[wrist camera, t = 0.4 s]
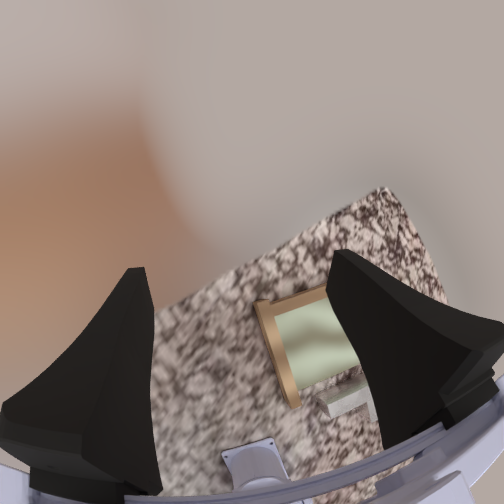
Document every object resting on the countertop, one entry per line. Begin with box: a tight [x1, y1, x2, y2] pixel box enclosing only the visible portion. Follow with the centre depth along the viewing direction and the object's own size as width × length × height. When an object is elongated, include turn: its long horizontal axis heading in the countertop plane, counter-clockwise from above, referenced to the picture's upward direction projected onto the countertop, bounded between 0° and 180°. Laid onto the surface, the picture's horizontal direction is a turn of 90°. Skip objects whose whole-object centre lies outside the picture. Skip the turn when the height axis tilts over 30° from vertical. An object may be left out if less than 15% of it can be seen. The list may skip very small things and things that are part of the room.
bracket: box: [315, 373, 378, 423], centre depth 36 cm, size 8×6×5 cm
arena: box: [253, 283, 360, 409], centre depth 37 cm, size 15×14×4 cm
